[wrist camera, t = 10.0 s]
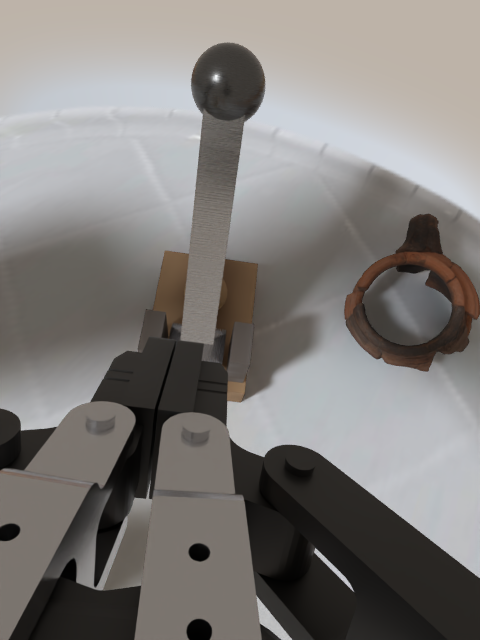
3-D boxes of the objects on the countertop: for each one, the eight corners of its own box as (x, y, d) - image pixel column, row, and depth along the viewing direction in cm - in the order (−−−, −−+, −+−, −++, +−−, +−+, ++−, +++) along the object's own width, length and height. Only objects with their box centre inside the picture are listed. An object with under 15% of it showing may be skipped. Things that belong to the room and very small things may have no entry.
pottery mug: (475, 377, 36) (488, 370, 28) (352, 373, 39) (334, 366, 32) (470, 230, 38) (482, 187, 30) (353, 239, 41) (337, 203, 34)
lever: (162, 378, 28) (190, 32, 20) (171, 348, 31) (198, 40, 23) (220, 386, 28) (273, 46, 20) (223, 355, 31) (269, 52, 23)
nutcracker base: (142, 389, 32) (131, 360, 26) (166, 267, 36) (162, 218, 30) (240, 402, 33) (252, 376, 27) (253, 279, 37) (266, 233, 31)
